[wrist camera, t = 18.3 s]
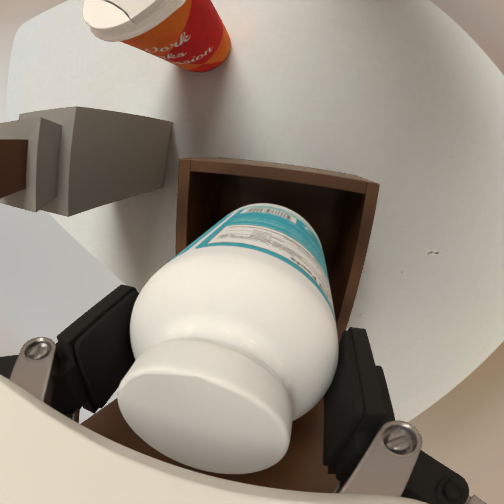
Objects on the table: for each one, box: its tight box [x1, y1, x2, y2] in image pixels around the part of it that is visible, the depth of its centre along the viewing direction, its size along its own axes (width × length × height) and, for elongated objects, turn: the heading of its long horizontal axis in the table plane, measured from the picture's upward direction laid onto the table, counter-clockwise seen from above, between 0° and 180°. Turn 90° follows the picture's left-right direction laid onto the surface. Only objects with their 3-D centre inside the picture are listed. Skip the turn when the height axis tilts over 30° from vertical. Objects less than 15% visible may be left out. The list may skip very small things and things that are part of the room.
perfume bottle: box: [0, 107, 172, 217], centre depth 18 cm, size 7×7×18 cm
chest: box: [176, 157, 379, 344], centre depth 23 cm, size 16×13×9 cm
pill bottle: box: [117, 203, 339, 474], centre depth 12 cm, size 8×7×14 cm
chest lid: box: [80, 396, 340, 493], centre depth 13 cm, size 16×13×5 cm
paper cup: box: [83, 0, 231, 72], centre depth 16 cm, size 8×8×14 cm
